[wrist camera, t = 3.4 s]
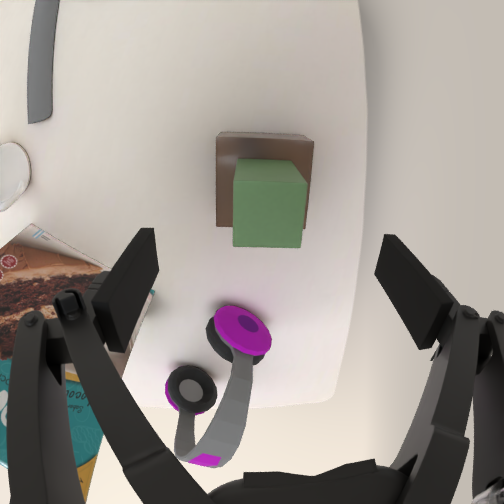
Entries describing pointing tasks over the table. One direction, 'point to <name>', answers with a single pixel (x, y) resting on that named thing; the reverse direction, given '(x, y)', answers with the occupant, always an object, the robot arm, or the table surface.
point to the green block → (268, 204)
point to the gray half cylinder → (41, 60)
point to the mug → (13, 173)
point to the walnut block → (256, 147)
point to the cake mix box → (40, 298)
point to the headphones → (205, 392)
